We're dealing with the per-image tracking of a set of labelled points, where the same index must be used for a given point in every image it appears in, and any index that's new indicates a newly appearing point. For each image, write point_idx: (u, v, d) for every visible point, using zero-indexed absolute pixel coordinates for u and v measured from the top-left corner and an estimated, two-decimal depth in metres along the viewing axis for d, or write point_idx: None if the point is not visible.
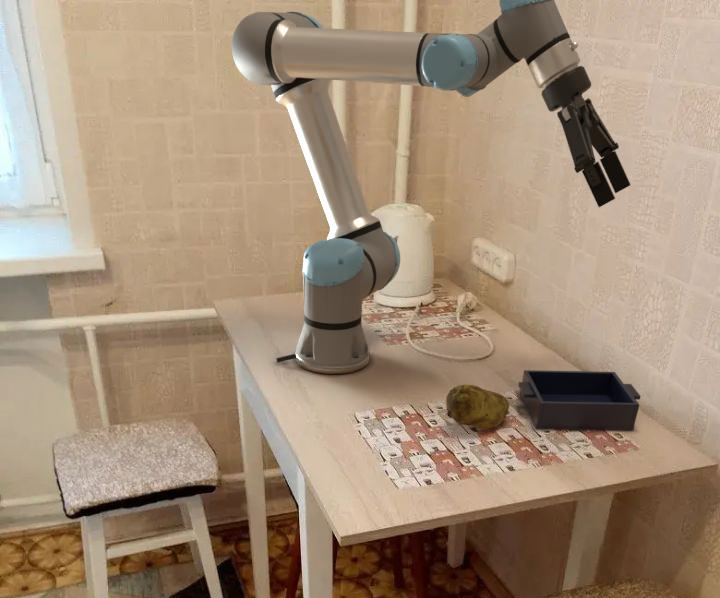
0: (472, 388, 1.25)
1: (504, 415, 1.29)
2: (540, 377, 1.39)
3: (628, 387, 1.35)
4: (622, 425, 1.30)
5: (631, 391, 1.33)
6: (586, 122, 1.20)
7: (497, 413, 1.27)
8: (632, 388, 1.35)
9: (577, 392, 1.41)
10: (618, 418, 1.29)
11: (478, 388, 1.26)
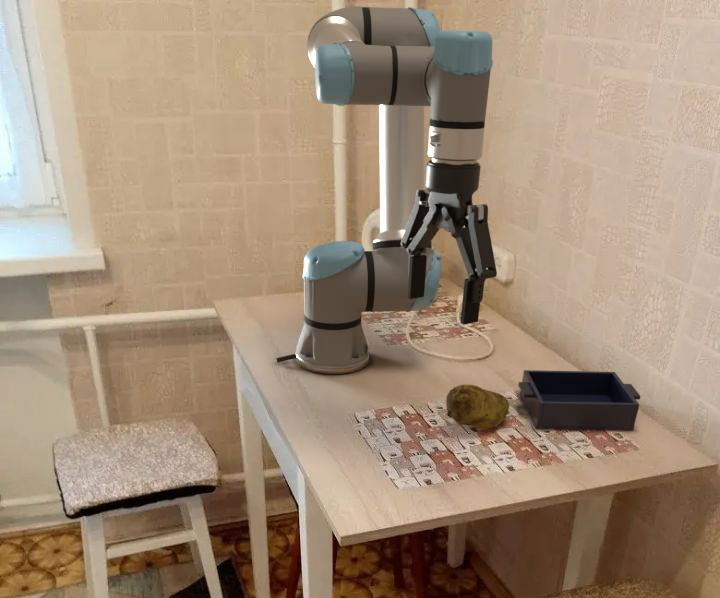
0: (472, 388, 1.25)
1: (504, 415, 1.29)
2: (540, 377, 1.39)
3: (628, 387, 1.35)
4: (622, 425, 1.30)
5: (631, 391, 1.33)
6: None
7: (497, 413, 1.27)
8: (632, 388, 1.35)
9: (577, 392, 1.41)
10: (618, 418, 1.29)
11: (478, 388, 1.26)
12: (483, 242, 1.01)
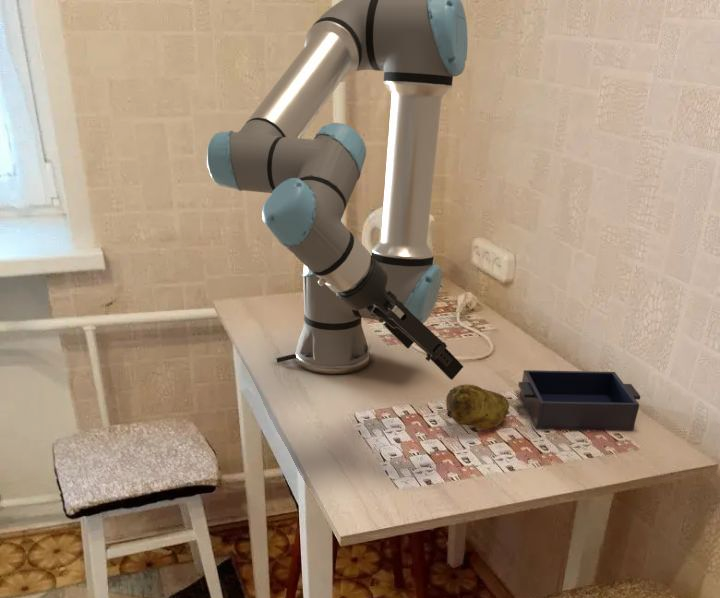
0: (472, 388, 1.25)
1: (504, 415, 1.29)
2: (540, 377, 1.39)
3: (628, 387, 1.35)
4: (622, 425, 1.30)
5: (631, 391, 1.33)
6: None
7: (497, 413, 1.27)
8: (632, 388, 1.35)
9: (577, 392, 1.41)
10: (618, 418, 1.29)
11: (478, 388, 1.26)
12: (417, 331, 1.05)
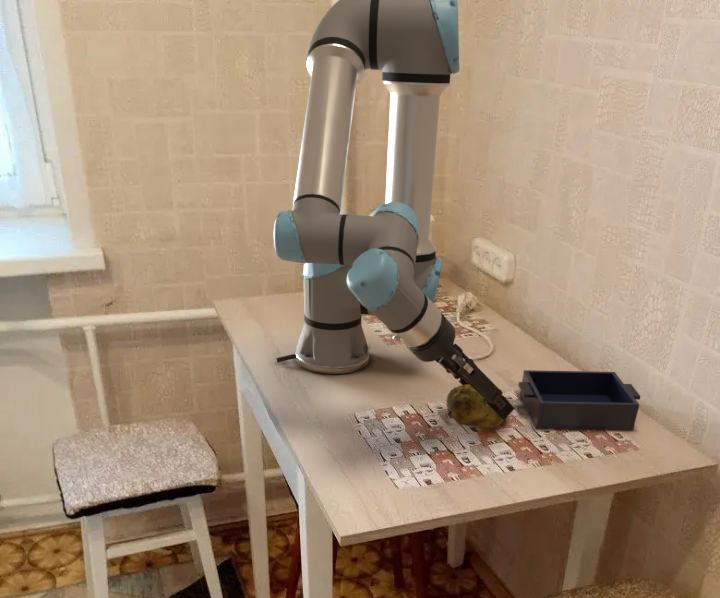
0: (473, 388, 1.25)
1: None
2: (540, 377, 1.39)
3: (628, 387, 1.35)
4: (622, 425, 1.30)
5: (631, 391, 1.33)
6: (438, 362, 1.24)
7: None
8: (632, 388, 1.35)
9: (577, 392, 1.41)
10: (618, 418, 1.29)
11: None
12: (481, 383, 1.17)
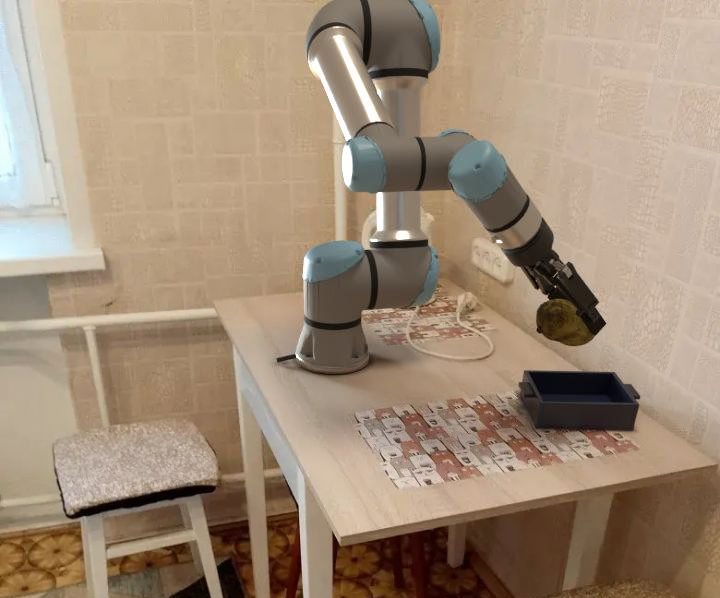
0: (564, 301, 1.22)
1: None
2: (540, 377, 1.39)
3: (628, 387, 1.35)
4: (622, 425, 1.30)
5: (631, 391, 1.33)
6: (530, 273, 1.20)
7: (588, 329, 1.23)
8: (632, 388, 1.35)
9: (577, 392, 1.41)
10: (618, 418, 1.29)
11: (570, 302, 1.22)
12: (579, 290, 1.14)
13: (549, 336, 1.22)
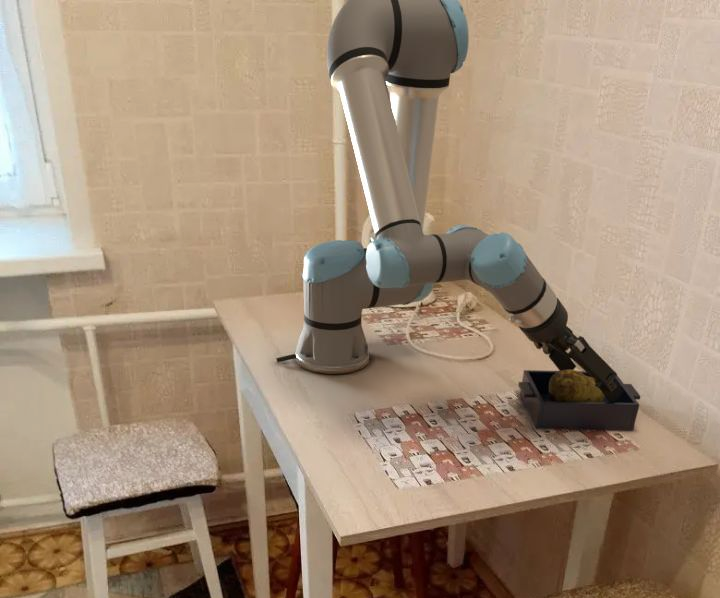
0: (575, 372, 1.30)
1: (603, 399, 1.34)
2: (540, 377, 1.39)
3: (628, 387, 1.35)
4: (622, 425, 1.30)
5: (631, 391, 1.33)
6: None
7: (597, 398, 1.32)
8: (632, 388, 1.35)
9: None
10: (618, 418, 1.29)
11: (580, 373, 1.31)
12: (594, 362, 1.20)
13: None
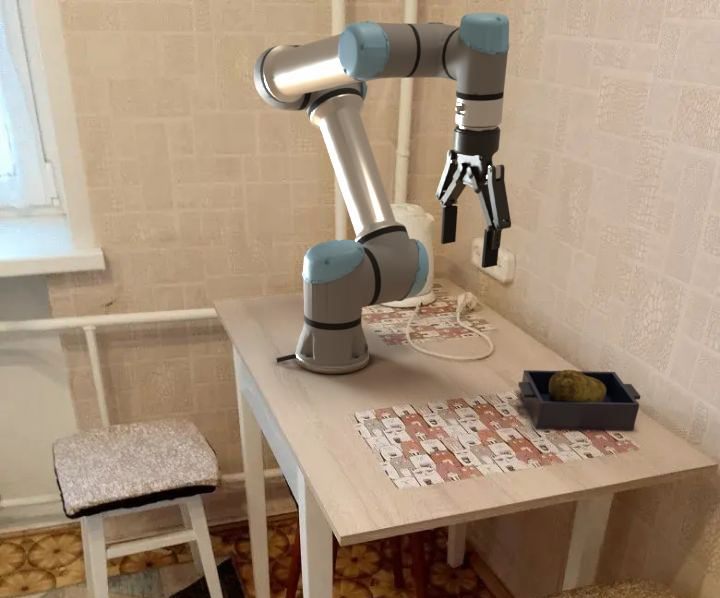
0: (575, 372, 1.30)
1: (603, 399, 1.34)
2: (540, 377, 1.39)
3: (628, 387, 1.35)
4: (622, 425, 1.30)
5: (631, 391, 1.33)
6: (453, 176, 1.27)
7: (597, 398, 1.32)
8: (632, 388, 1.35)
9: None
10: (618, 418, 1.29)
11: (580, 373, 1.31)
12: (499, 198, 1.20)
13: None
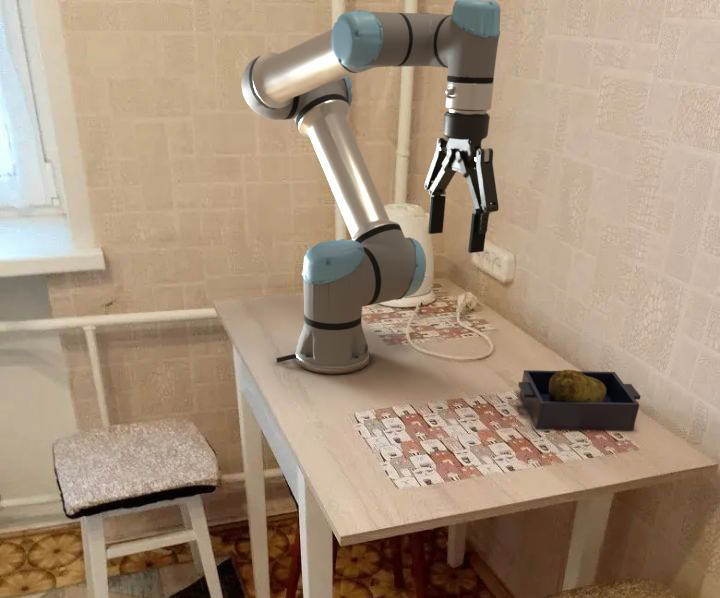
0: (575, 372, 1.30)
1: (603, 399, 1.34)
2: (540, 377, 1.39)
3: (628, 387, 1.35)
4: (622, 425, 1.30)
5: (631, 391, 1.33)
6: (442, 163, 1.28)
7: (597, 398, 1.32)
8: (632, 388, 1.35)
9: None
10: (618, 418, 1.29)
11: (580, 373, 1.31)
12: (488, 180, 1.20)
13: None
